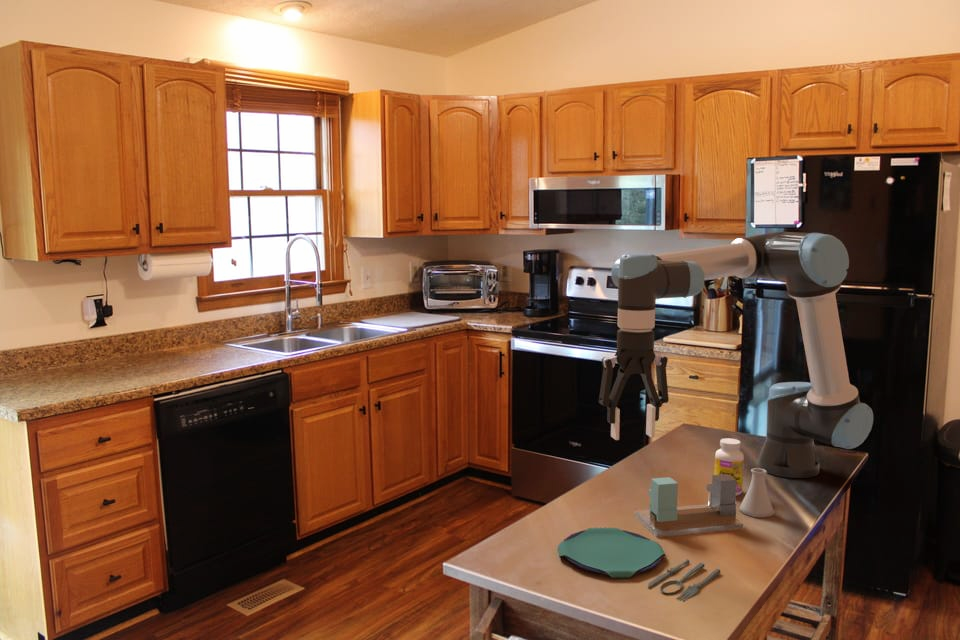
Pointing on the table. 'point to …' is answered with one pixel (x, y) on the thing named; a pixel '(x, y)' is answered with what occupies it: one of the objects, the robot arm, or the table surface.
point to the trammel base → (686, 528)
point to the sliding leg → (663, 499)
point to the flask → (757, 496)
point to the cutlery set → (623, 556)
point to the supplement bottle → (730, 461)
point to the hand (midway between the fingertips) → (632, 436)
